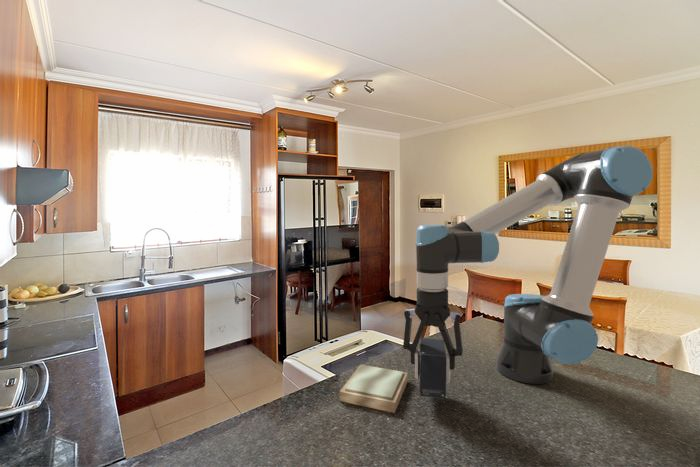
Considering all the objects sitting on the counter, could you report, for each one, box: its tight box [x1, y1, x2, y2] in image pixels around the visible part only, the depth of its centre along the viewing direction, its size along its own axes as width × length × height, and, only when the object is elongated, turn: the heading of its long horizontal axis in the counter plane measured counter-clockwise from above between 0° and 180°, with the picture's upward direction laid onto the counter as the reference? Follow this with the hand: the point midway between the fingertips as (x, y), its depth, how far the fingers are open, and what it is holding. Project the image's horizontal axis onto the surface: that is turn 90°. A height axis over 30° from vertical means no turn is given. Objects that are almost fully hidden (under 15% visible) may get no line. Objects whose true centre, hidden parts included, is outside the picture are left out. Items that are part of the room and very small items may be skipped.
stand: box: [339, 364, 409, 414], centre depth 92 cm, size 14×16×3 cm
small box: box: [418, 337, 447, 399], centre depth 87 cm, size 11×6×10 cm, turn 168°
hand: (432, 378), depth 87 cm, fingers closed on small box, 7 cm apart
